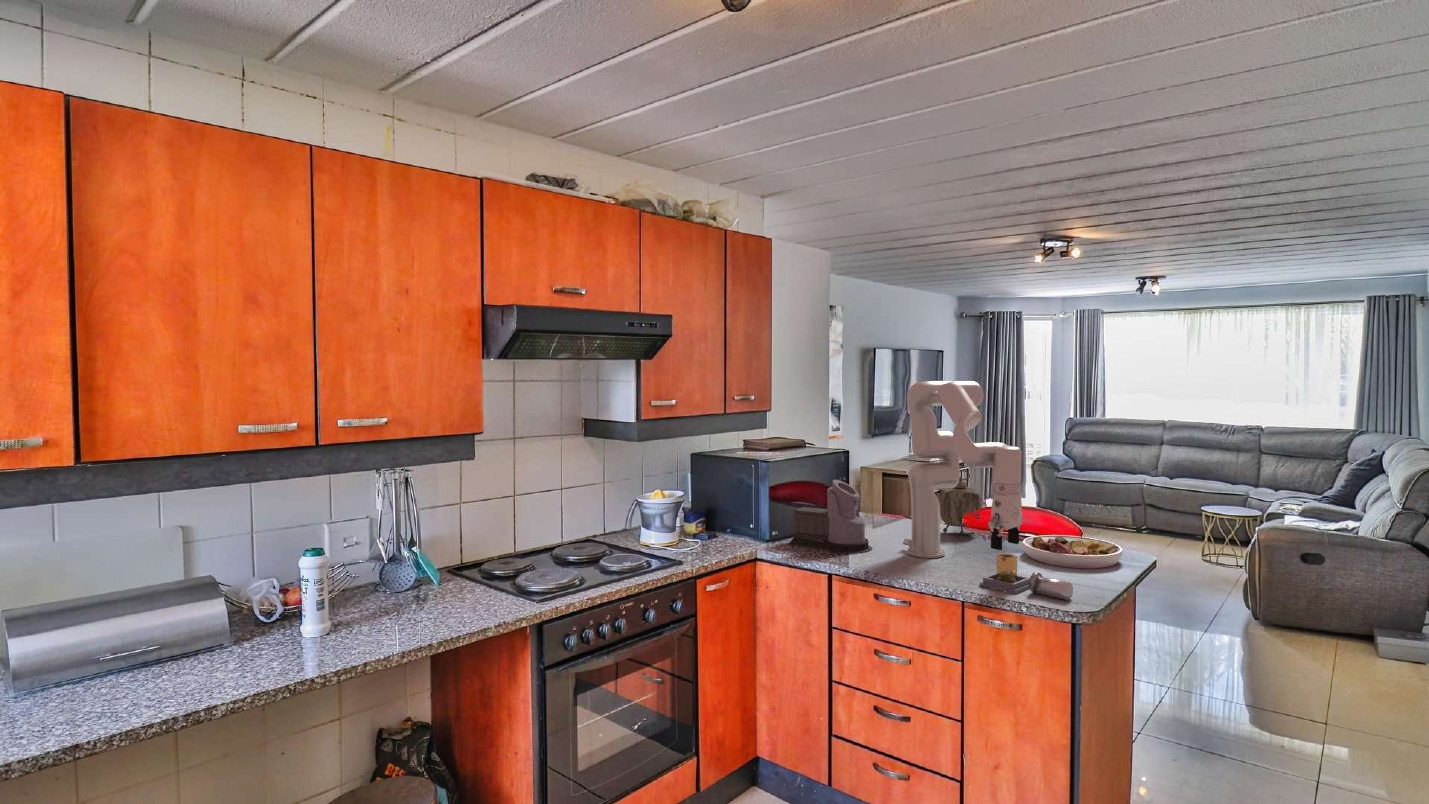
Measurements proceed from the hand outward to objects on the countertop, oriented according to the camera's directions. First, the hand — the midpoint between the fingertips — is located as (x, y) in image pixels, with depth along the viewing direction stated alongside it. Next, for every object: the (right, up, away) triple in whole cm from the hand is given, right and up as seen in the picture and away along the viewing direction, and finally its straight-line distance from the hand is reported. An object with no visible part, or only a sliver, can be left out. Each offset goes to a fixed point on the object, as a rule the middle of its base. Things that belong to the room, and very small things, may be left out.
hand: (1004, 546), depth 217 cm
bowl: (+34, -11, +31) cm, 47 cm away
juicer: (-43, -11, +53) cm, 69 cm away
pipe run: (+9, -12, -10) cm, 18 cm away
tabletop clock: (+10, -9, +70) cm, 71 cm away
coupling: (0, -11, 0) cm, 11 cm away
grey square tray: (0, -12, 0) cm, 12 cm away
